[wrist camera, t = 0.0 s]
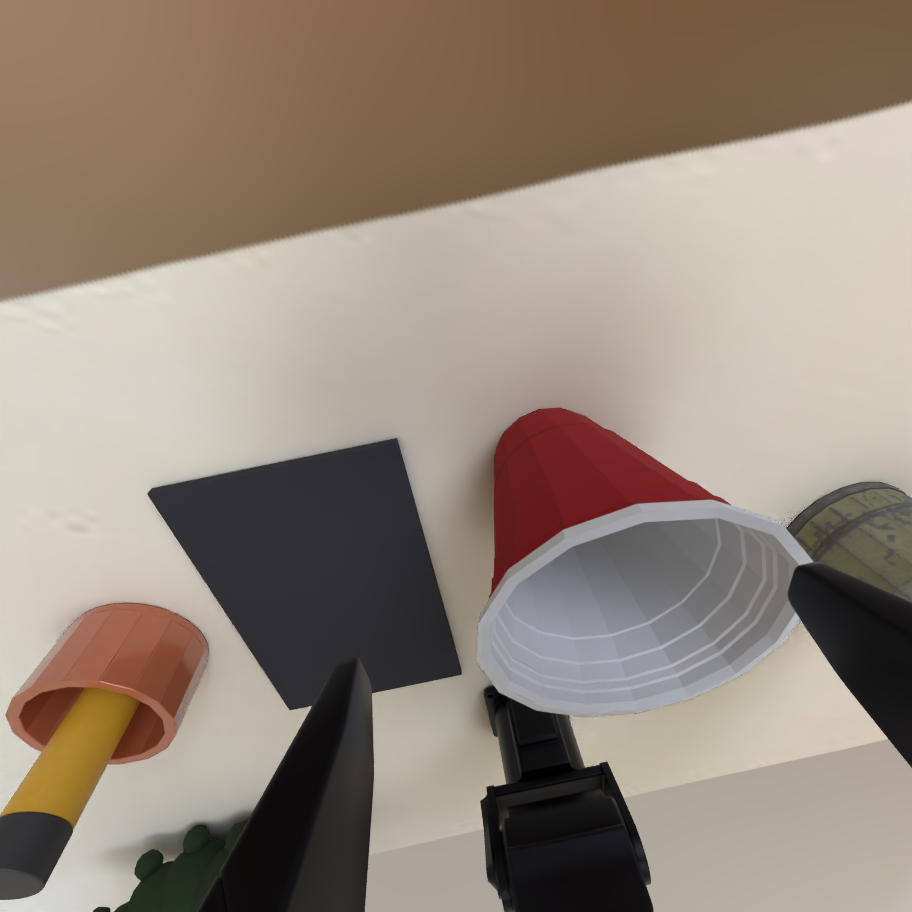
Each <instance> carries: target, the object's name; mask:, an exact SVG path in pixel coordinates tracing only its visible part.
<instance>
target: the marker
mask: <svg viewBox="0 0 912 912" xmlns="http://www.w3.org/2000/svg"><path fill="white" fill-rule="evenodd" d="M140 702H141V701H139V700H137V699H135V698H133V697H131V696H129V695H126V694H121V693H117V692H113V691H109V690H105V689H100V688H84V689H83V691H82V692H81V694H80V695H79V697H78V698H77V700H76V701H75V703H74V704H73V706H72V707H71V709H70V710H69V712H68V713H67V715H66V716H65V718H64V719H63V721H62V722H61V724H60V725H59V727H58V728H57V730H56V731H55V733H54V734H53V736H52V737H51V739H50V740H49V742H48V744H47V745H46V747H45V748H44V750H43V751H42V753H41V754H40V756H39V757H38V759H37V760H36V762H35V763H34V765H33V766H32V768H31V769H30V771H29V772H28V774H27V775H26V777H25V778H24V780H23V781H22V783H21V784H20V786H19V787H18V789H17V790H16V792H15V793H14V795H13V797H12V798H11V800H10V801H9V803H8V804H7V806H6V807H5V809H4V810H3V812H2V813H1V815H0V900H11V899H20V898H25V897H29V896H32V895H35V894H37V893H39V892H40V891H41V890H42V889H43V888H44V886H45V884H46V883H47V881H48V879H49V877H50V875H51V873H52V871H53V869H54V867H55V865H56V864H57V862H58V860H59V858H60V856H61V854H62V852H63V850H64V848H65V846H66V845H67V843H68V841H69V839H70V837H71V835H72V833H73V829H74V827H75V825H76V823H77V821H78V819H79V817H80V816H81V814H82V812H83V810H84V808H85V806H86V804H87V802H88V800H89V799H90V797H91V795H92V793H93V791H94V789H95V787H96V785H97V783H98V781H99V780H100V778H101V776H102V774H103V772H104V770H105V768H106V766H107V764H108V763H109V761H110V759H111V757H112V755H113V753H114V751H115V749H116V747H117V746H118V744H119V742H120V740H121V738H122V736H123V734H124V732H125V730H126V728H127V727H128V725H129V723H130V721H131V719H132V717H133V715H134V713H135V711H136V710H137V708H138V706H139V704H140Z"/></svg>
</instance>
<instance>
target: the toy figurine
mask: <svg viewBox="0 0 912 912" xmlns="http://www.w3.org/2000/svg"><path fill="white" fill-rule="evenodd" d="M247 822H248V821H244V822H241V823H238V824H235V825H234V826H233V828H232V829H231V830H230V832H229V833H228V835H227V838H226V842H225V843H224V842H221V841H218V840H214V839H211V840H209V839H210V838H209V831H208V829H207V828H206V827H203V826H197V827H194V828H193V829H192V830H190V831H189V832H188V833H187V835H186V837H185V839H184V842H183V849H184V852H183V853H182V854H180V855H179V856H178V857H177V859H176V860H175V861H170V862H166V863H164V864H163V860H164V857H163V854H162V853H160V852H159V851H158V850H155V849H152V850H150V851H148V852H147V853H145V854H143V855H142V856H141V857H140V859H139V860H138V861H137V864H136V867H135V875H136V877H137V878H138V879H139V880H141V882H140V883H139V885H138V886H137V887H136V889H135V890H134V892H133V894H132V896H131V898H130V901H129V902H127V903H125V904H123V905H121V906H119V907H118V908H117V909H116V910H115V911H114V912H197V910H198V908H199V907H200V905H201V903H202V901H203V900H204V898H205V896H206V894H207V892H208V891H209V889H210V887H211V885H212V884H213V882H214V880H215V878H216V877H217V876H218V875H220V870H221V868H222V866H223V864H224V863H225V861H226V859H227V857H228V855H229V854H230V852H231V850H232V848H233V847H234V845H235V843H236V841H237V839H238V838H239V836H240V834H241V832H242V831H243V829H244V827H245V825H246V823H247ZM93 912H110V908H107V907H98V908H96V909H95V910H94V911H93Z"/></svg>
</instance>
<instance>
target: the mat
mask: <svg viewBox="0 0 912 912" xmlns="http://www.w3.org/2000/svg"><path fill="white" fill-rule="evenodd" d="M148 496H149V497H150V499H151V500H152V502H153V503H154V505H155V507H156V508H157V510H158V511H159V513H160V514H161V516H162V517H163V519H164V520H165V522H166V523H167V525H168V526H169V528H170V529H171V531H172V532H173V534H174V535H175V537H176V538H177V540H178V541H179V543H180V544H181V546H182V547H183V549H184V550H185V552H186V554H187V555H188V557H189V558H190V560H191V561H192V563H193V564H194V566H195V567H196V569H197V570H198V572H199V573H200V575H201V576H202V578H203V579H204V581H205V582H206V584H207V585H208V587H209V588H210V590H211V591H212V593H213V594H214V596H215V597H216V599H217V601H218V602H219V604H220V605H221V607H222V608H223V610H224V611H225V613H226V614H227V616H228V617H229V619H230V620H231V622H232V623H233V625H234V626H235V628H236V629H237V631H238V632H239V634H240V635H241V637H242V638H243V640H244V641H245V643H246V644H247V646H248V648H249V649H250V651H251V652H252V654H253V655H254V657H255V658H256V660H257V661H258V663H259V664H260V666H261V667H262V669H263V670H264V672H265V673H266V675H267V676H268V678H269V679H270V681H271V682H272V684H273V685H274V687H275V688H276V690H277V691H278V693H279V695H280V696H281V698H282V699H283V701H284V702H285V704H286V705H287V707H288V708H289V710H293V709H298V708H303V707H308V706H313V704H314V702H315V701H316V699H317V697H318V695H319V694H320V692H321V690H322V688H323V686H324V685H325V683H326V681H327V679H328V678H329V676H330V674H331V672H332V670H333V669H334V667H335V665H336V664H337V663H338V662H339V661H341V660H344V659H349V658H354V657H357V658H359V659H360V661H361V663H362V665H363V667H364V669H365V671H366V673H367V675H368V678H369V680H370V683H371V690H372V693H375V692H380V691H385V690H390V689H395V688H399V687H404V686H409V685H414V684H419V683H423V682H428V681H433V680H438V679H443V678H448V677H452V676H457V675H461V674H462V673H461V667H460V664H459V660H458V656H457V653H456V649H455V646H454V642H453V638H452V635H451V631H450V627H449V624H448V620H447V617H446V613H445V609H444V606H443V602H442V599H441V595H440V591H439V588H438V584H437V581H436V577H435V573H434V570H433V566H432V563H431V559H430V555H429V552H428V548H427V545H426V541H425V537H424V534H423V530H422V527H421V523H420V519H419V516H418V512H417V508H416V505H415V501H414V498H413V494H412V490H411V487H410V483H409V480H408V476H407V472H406V469H405V465H404V462H403V458H402V454H401V451H400V447H399V444H398V440H397V439H391V440H386V441H382V442H377V443H372V444H367V445H362V446H357V447H352V448H347V449H343V450H338V451H333V452H328V453H323V454H318V455H313V456H309V457H304V458H299V459H294V460H289V461H284V462H279V463H274V464H270V465H265V466H260V467H255V468H250V469H245V470H240V471H236V472H231V473H226V474H221V475H216V476H211V477H206V478H201V479H197V480H192V481H187V482H182V483H177V484H172V485H167V486H163V487H158V488H153V489H151V490H150V491H149V492H148Z"/></svg>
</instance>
